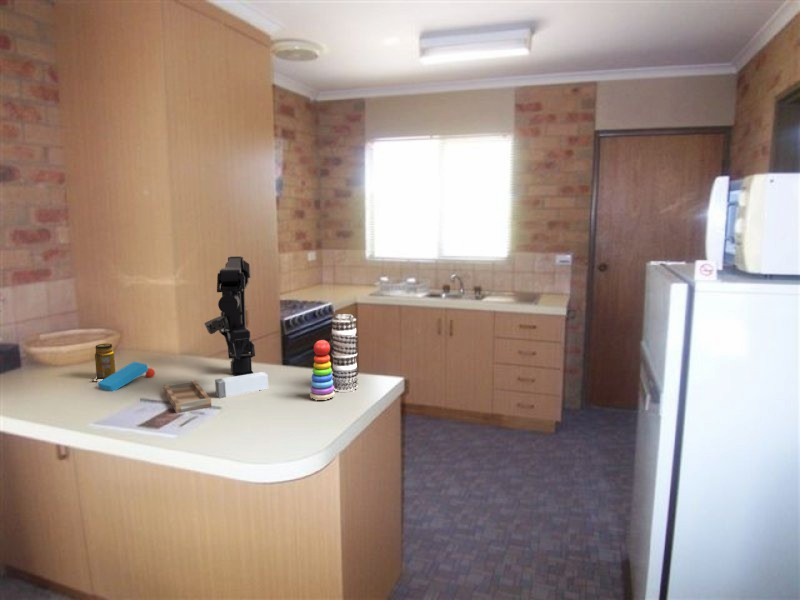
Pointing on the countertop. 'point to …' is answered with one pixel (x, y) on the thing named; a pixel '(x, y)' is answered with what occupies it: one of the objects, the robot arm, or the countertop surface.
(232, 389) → the white tall block
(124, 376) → the lever
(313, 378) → the stacking toy
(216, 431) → the countertop surface
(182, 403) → the wooden tray
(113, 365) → the condiment
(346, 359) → the decorative candle
